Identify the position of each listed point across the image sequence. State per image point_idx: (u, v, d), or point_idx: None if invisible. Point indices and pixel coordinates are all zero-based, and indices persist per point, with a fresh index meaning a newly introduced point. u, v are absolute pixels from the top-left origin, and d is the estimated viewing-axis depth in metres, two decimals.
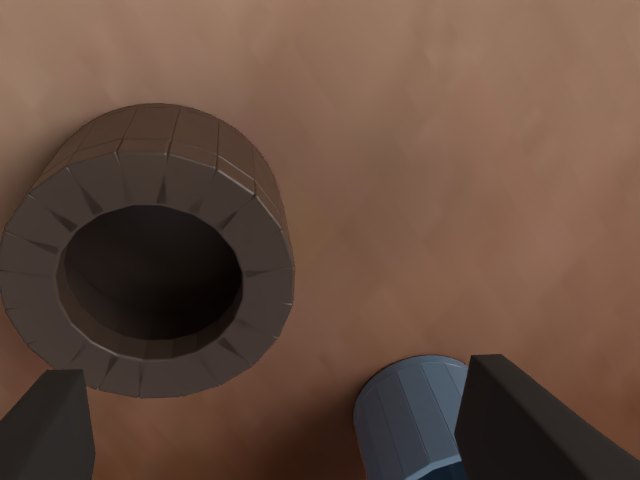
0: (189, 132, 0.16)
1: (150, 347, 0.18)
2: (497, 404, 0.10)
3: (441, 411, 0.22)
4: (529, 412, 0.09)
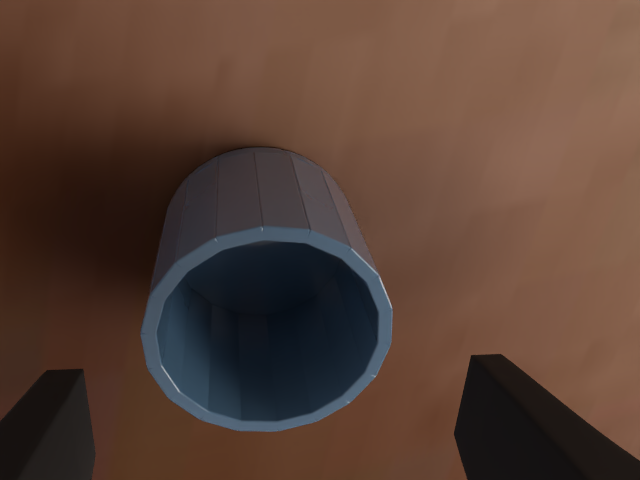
0: None
1: None
2: (496, 404, 0.10)
3: (336, 210, 0.15)
4: (529, 412, 0.09)
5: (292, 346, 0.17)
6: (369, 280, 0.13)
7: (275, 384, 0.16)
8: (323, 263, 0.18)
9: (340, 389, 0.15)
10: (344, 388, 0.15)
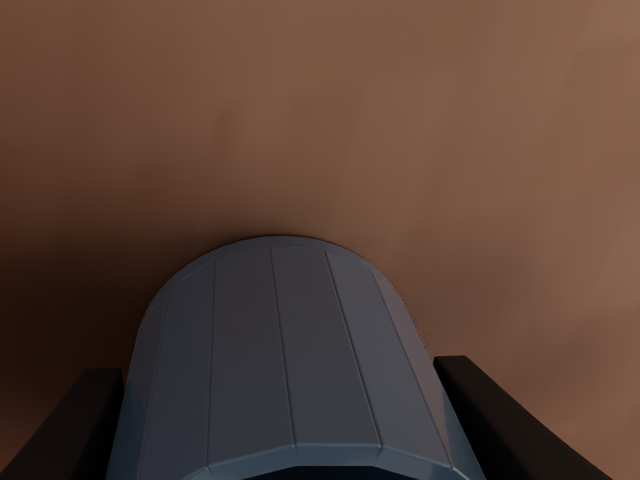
0: None
1: None
2: (456, 405, 0.10)
3: (408, 362, 0.09)
4: (485, 414, 0.09)
5: None
6: None
7: None
8: None
9: None
10: None
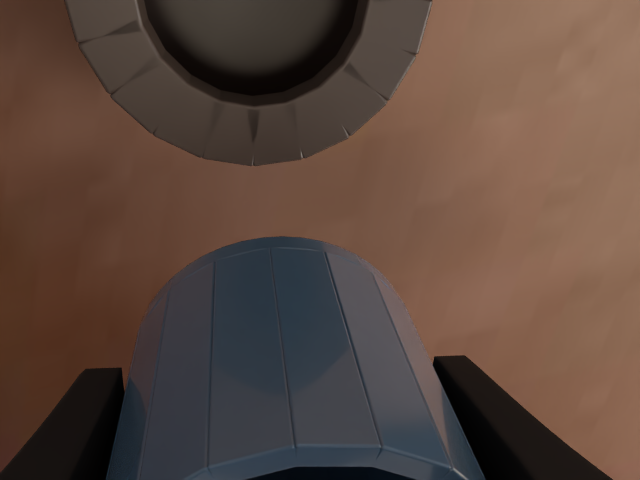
0: None
1: (168, 57, 0.13)
2: (456, 405, 0.10)
3: (408, 363, 0.09)
4: (485, 414, 0.09)
5: None
6: None
7: None
8: None
9: None
10: None
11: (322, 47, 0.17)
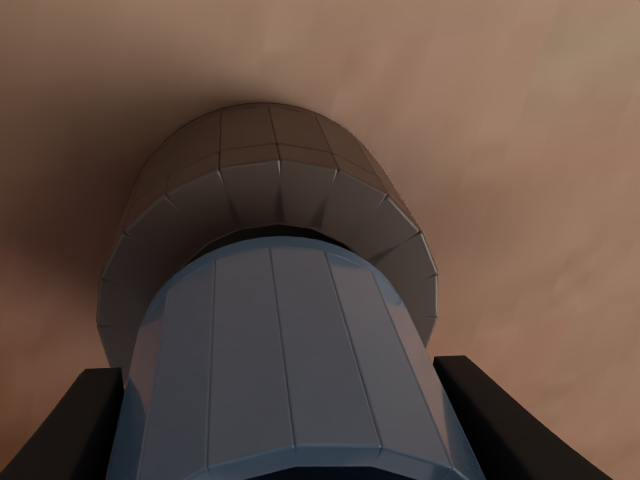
0: None
1: None
2: (456, 405, 0.10)
3: (408, 363, 0.09)
4: (485, 414, 0.09)
5: None
6: None
7: None
8: None
9: None
10: None
11: None
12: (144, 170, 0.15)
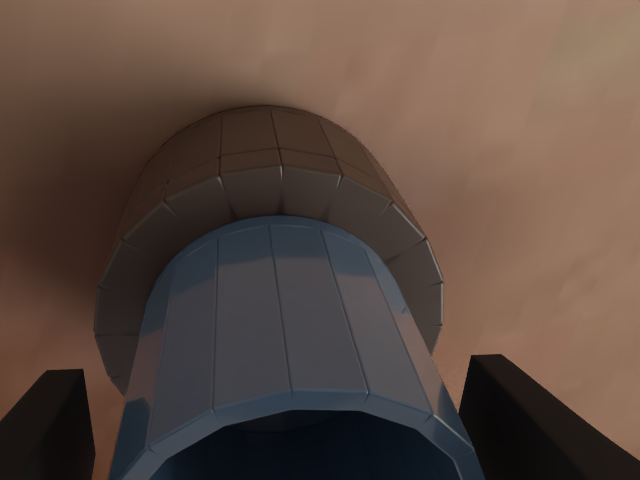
0: None
1: None
2: (497, 404, 0.10)
3: (396, 327, 0.10)
4: (529, 412, 0.09)
5: None
6: (458, 457, 0.08)
7: None
8: None
9: None
10: None
11: None
12: (143, 174, 0.15)
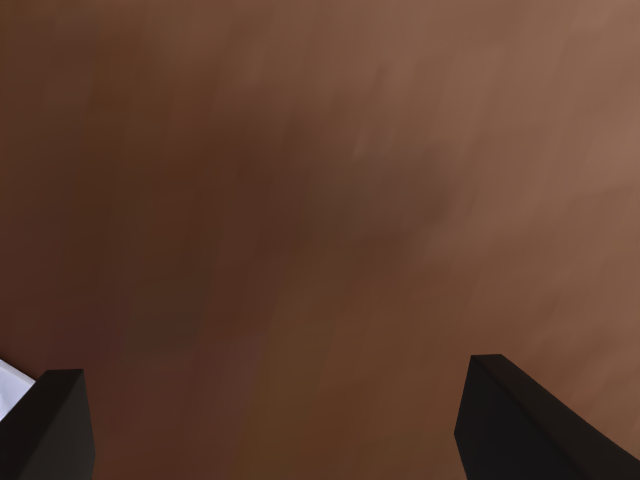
0: None
1: None
2: (497, 404, 0.10)
3: None
4: (529, 412, 0.09)
5: None
6: None
7: None
8: None
9: None
10: None
11: None
12: None
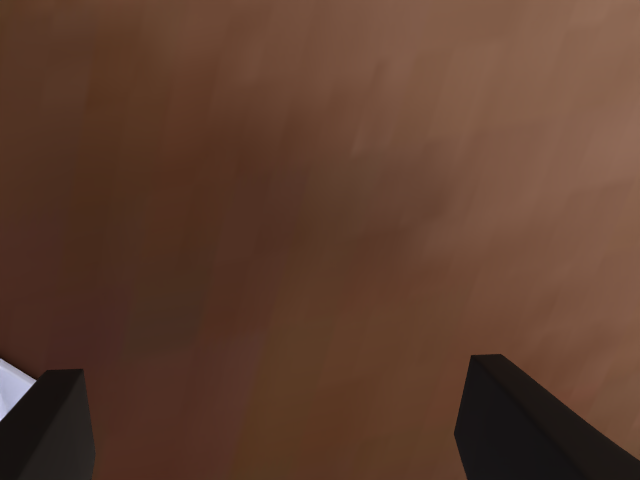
0: None
1: None
2: (497, 404, 0.10)
3: None
4: (529, 412, 0.09)
5: None
6: None
7: None
8: None
9: None
10: None
11: None
12: None
